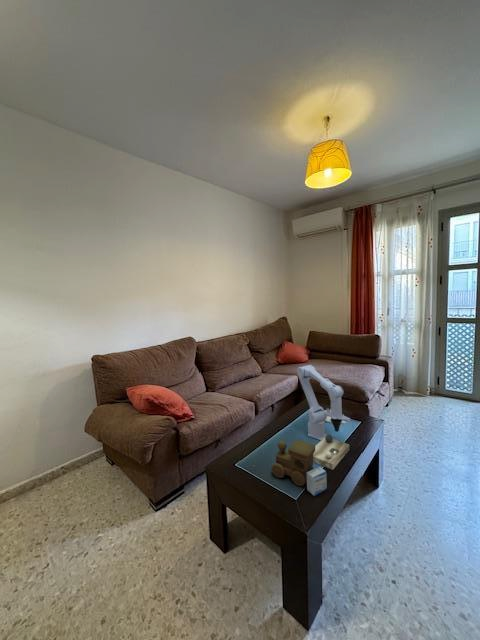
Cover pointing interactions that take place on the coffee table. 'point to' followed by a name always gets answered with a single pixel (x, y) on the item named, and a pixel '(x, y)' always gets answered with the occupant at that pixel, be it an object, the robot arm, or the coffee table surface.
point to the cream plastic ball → (328, 454)
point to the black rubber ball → (328, 438)
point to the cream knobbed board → (326, 446)
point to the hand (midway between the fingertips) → (336, 430)
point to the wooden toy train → (294, 461)
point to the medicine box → (316, 481)
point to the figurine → (330, 417)
